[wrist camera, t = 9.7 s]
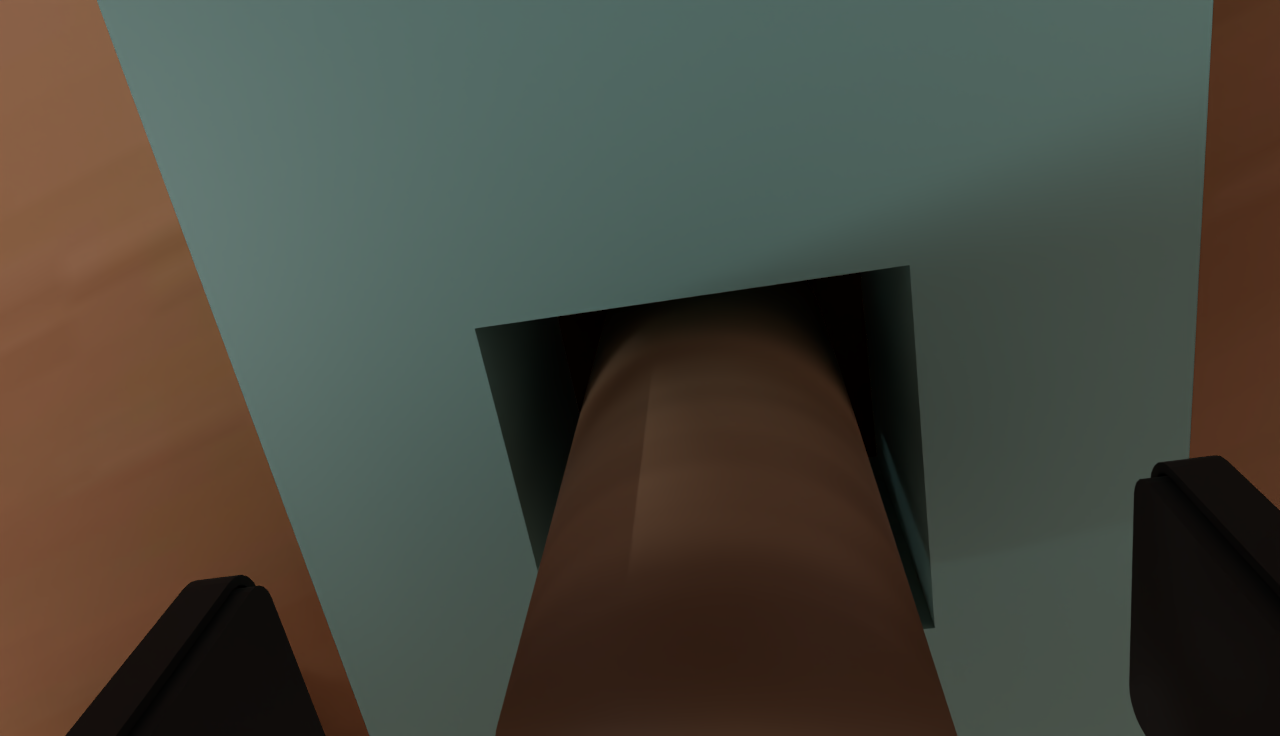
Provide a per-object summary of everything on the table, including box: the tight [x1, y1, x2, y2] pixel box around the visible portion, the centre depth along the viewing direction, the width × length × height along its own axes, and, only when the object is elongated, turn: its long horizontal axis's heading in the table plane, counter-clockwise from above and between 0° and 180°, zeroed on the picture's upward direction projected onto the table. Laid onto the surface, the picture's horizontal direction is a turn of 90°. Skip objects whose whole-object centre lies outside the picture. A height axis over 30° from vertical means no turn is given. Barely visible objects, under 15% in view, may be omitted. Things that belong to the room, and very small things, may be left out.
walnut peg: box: [495, 280, 957, 736], centre depth 13 cm, size 4×4×10 cm
